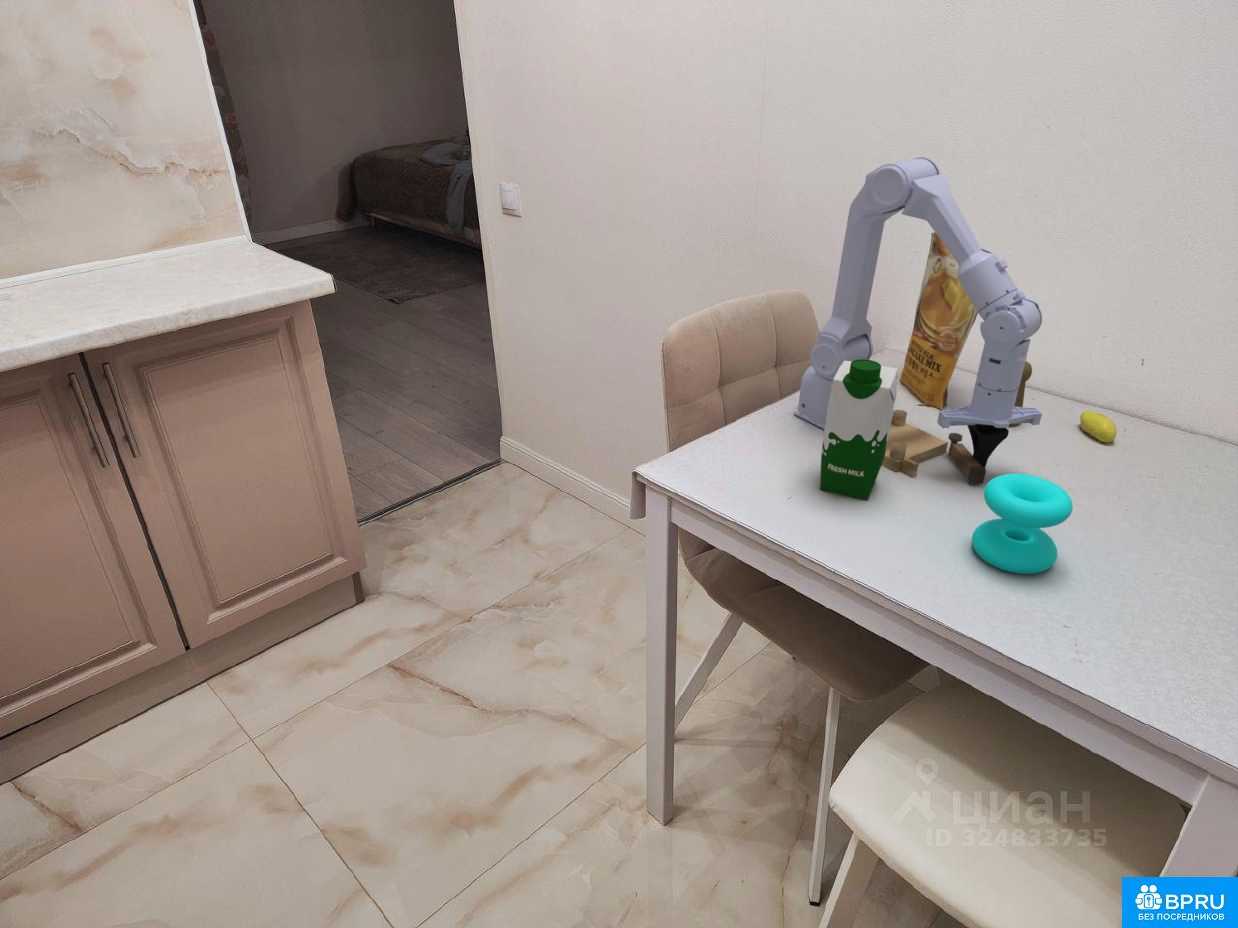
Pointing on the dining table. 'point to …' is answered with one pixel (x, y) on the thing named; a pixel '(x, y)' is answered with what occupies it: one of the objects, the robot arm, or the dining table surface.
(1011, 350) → the robot arm
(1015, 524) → the donuts
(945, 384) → the pancake mix bag
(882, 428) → the milk carton
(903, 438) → the stool seat
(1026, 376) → the cork
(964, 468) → the hinged leg
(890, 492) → the dining table surface
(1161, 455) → the dining table surface
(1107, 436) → the lemon
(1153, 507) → the dining table surface
